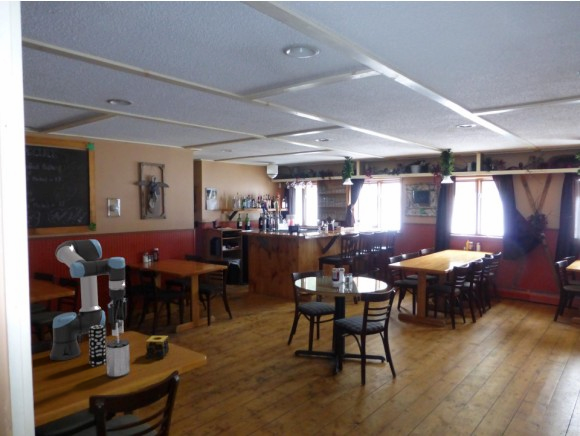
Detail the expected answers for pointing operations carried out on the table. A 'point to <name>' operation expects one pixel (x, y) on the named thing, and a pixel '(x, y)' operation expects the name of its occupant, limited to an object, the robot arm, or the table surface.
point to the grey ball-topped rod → (118, 329)
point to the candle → (157, 347)
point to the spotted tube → (97, 345)
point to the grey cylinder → (118, 358)
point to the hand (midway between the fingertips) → (117, 334)
